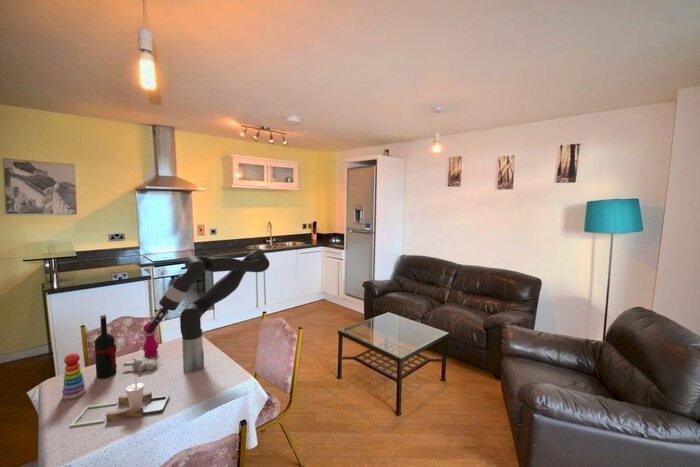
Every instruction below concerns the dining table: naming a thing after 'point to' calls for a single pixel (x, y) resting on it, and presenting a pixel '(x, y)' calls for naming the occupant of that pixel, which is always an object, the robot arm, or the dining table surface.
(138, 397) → the smoothie
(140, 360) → the bunny figurine
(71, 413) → the dining table surface
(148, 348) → the pepper mill
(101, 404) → the frame
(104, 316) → the wine bottle
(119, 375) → the dining table surface
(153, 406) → the tray
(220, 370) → the dining table surface
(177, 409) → the dining table surface
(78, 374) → the stacking toy
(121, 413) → the walnut channel
